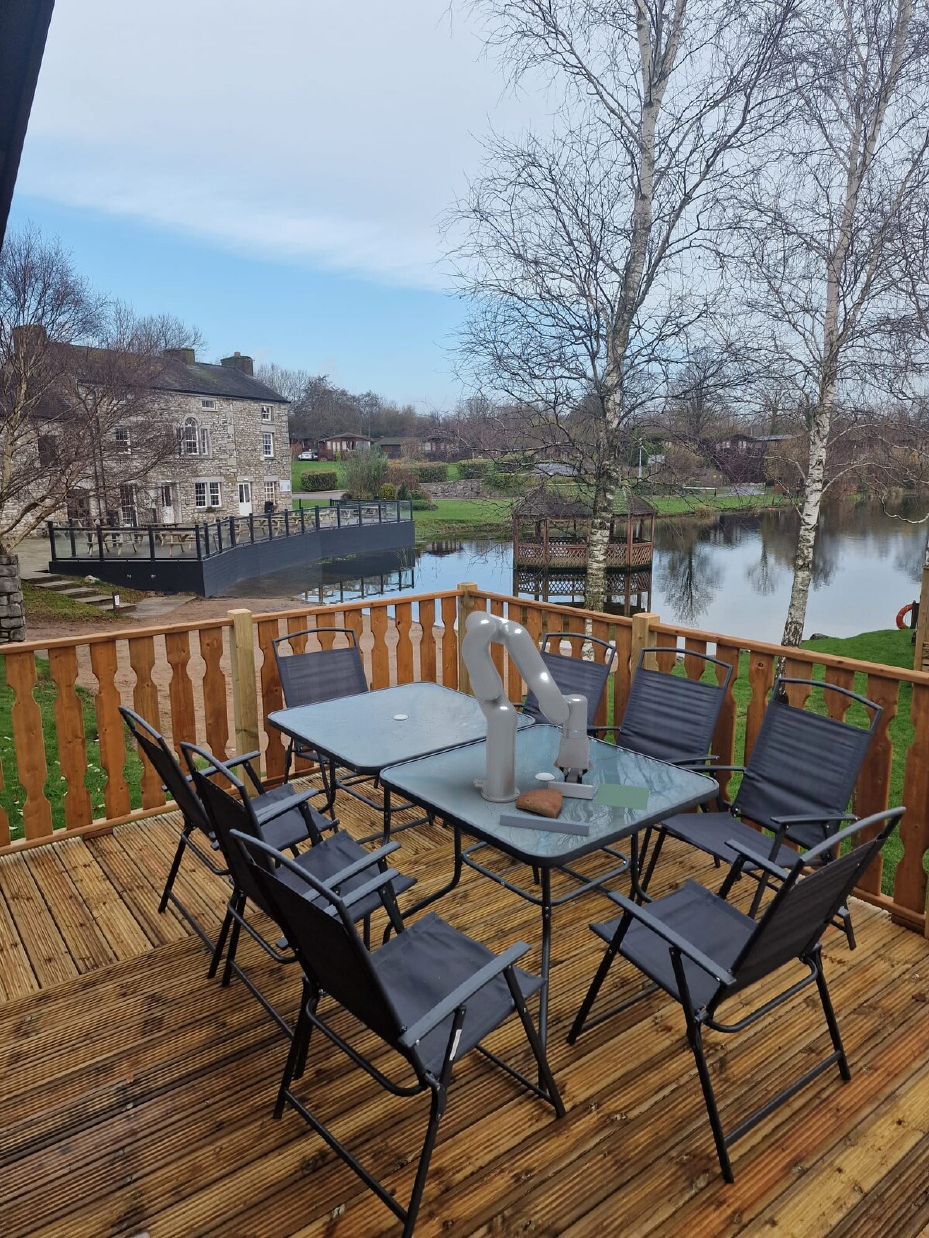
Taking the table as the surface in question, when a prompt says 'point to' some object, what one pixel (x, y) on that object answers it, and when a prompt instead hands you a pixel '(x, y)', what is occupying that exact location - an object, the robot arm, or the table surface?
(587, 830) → the board
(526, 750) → the table surface
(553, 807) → the ceramic shard
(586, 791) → the scraper
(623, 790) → the mat
